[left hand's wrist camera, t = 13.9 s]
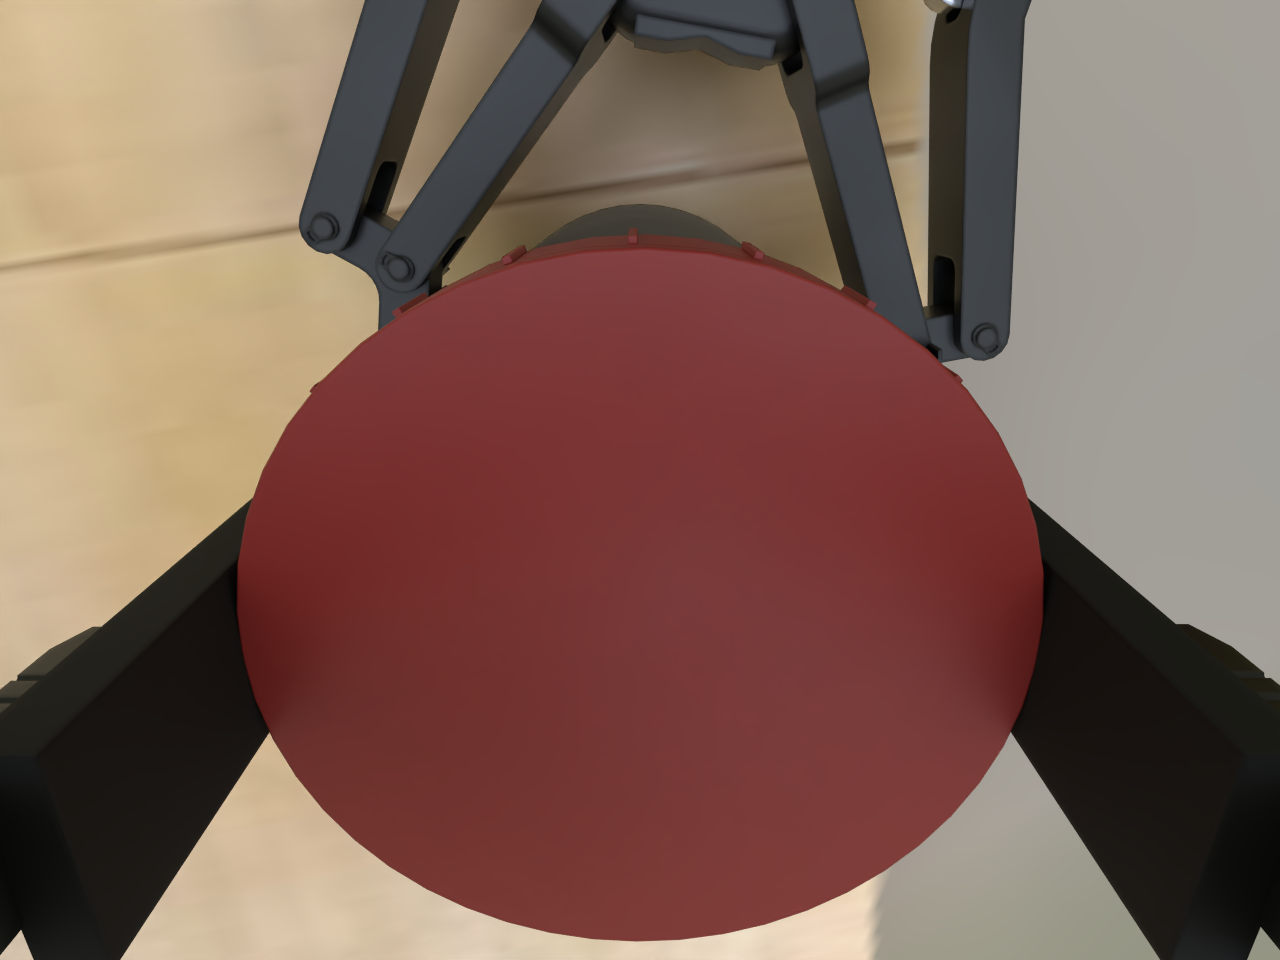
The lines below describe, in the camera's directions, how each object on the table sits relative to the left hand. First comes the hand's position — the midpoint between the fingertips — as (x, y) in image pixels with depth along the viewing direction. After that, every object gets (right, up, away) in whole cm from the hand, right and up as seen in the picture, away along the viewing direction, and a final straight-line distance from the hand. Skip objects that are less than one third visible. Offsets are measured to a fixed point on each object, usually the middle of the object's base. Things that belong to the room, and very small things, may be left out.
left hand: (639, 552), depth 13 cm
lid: (0, -1, -3) cm, 3 cm away
